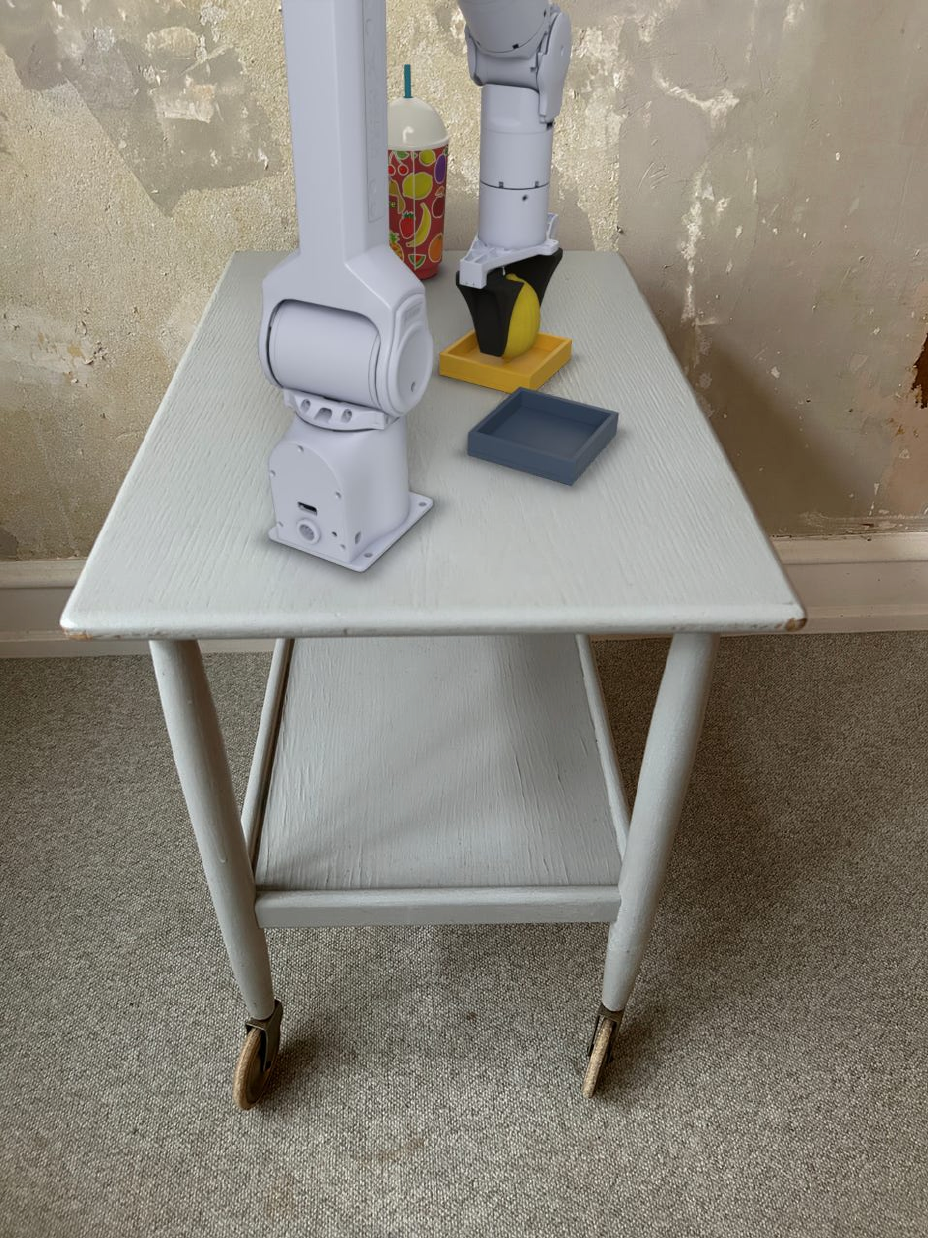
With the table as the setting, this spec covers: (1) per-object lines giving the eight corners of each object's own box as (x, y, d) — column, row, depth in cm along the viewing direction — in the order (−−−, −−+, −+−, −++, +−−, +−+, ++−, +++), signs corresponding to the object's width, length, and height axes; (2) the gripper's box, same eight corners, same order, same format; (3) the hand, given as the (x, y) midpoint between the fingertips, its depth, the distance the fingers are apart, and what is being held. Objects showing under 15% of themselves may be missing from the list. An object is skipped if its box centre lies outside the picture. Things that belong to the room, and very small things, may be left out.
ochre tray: (528, 398, 78) (529, 376, 77) (439, 374, 82) (439, 353, 80) (570, 359, 84) (572, 338, 83) (485, 338, 88) (486, 318, 86)
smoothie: (367, 261, 103) (356, 58, 90) (437, 255, 105) (436, 55, 92) (384, 288, 97) (375, 74, 84) (458, 281, 99) (460, 70, 86)
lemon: (532, 378, 80) (539, 288, 75) (472, 371, 81) (473, 282, 76) (541, 352, 84) (547, 265, 79) (483, 346, 85) (485, 260, 80)
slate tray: (571, 486, 68) (574, 463, 67) (467, 454, 71) (467, 432, 70) (616, 434, 74) (619, 412, 73) (518, 407, 77) (519, 386, 76)
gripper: (519, 211, 66) (510, 382, 75) (595, 165, 76) (580, 321, 85) (436, 196, 69) (437, 363, 78) (520, 153, 78) (513, 306, 87)
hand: (507, 340), depth 81 cm, fingers closed on lemon, 5 cm apart
